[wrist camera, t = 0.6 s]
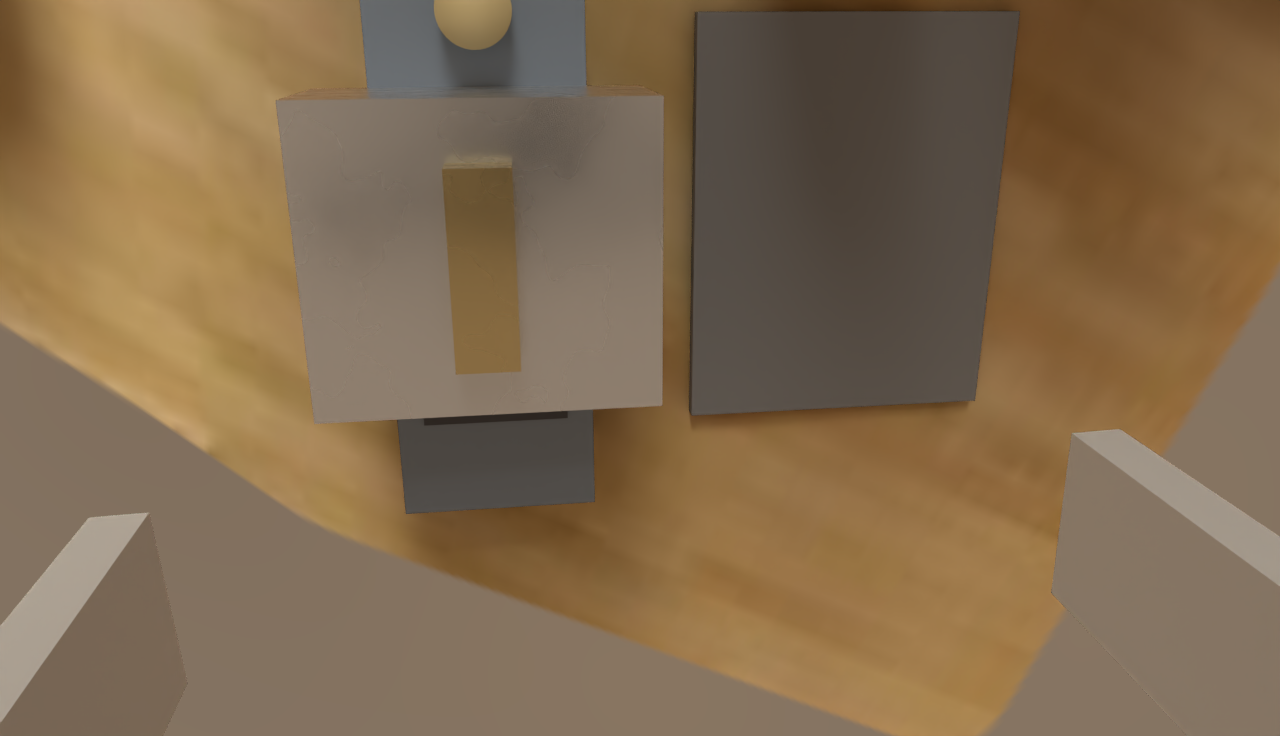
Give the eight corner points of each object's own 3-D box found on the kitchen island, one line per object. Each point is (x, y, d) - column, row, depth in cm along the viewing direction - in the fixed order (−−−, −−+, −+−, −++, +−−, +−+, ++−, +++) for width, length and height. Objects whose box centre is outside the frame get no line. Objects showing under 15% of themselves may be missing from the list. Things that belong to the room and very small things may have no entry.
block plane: (378, -22, 31) (350, -33, 25) (571, -22, 32) (587, -32, 26) (418, 450, 36) (402, 532, 30) (582, 441, 37) (598, 519, 31)
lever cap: (311, 88, 27) (265, 103, 22) (639, 84, 28) (670, 98, 23) (341, 366, 30) (307, 439, 24) (640, 353, 31) (668, 420, 25)
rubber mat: (694, 12, 32) (697, 11, 32) (1013, 11, 34) (1019, 11, 33) (689, 410, 37) (691, 415, 36) (969, 395, 38) (975, 400, 38)
